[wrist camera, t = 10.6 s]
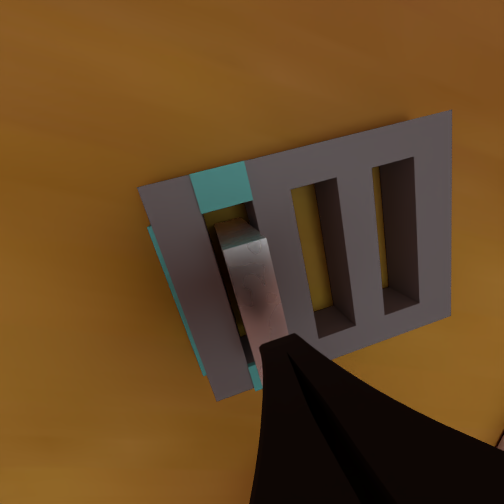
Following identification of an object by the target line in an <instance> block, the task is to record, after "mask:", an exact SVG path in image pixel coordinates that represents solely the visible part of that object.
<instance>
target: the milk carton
mask: <svg viewBox="0 0 504 504" xmlns="http://www.w3.org/2000/svg"><path fill="white" fill-rule="evenodd" d="M497 448H498V449H501V450H503V451H504V435H503V437H502V439H501V441H500V443H499V445H498V447H497Z"/></svg>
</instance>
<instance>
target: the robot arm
mask: <svg viewBox="0 0 504 504" xmlns="http://www.w3.org/2000/svg"><path fill="white" fill-rule="evenodd" d="M259 350H260V354H261V359H262V370H263V401H262V415H261V429H260V438H259V447H258V454H257V461H256V468H255V475H254V481H253V486H252V492H251V497H250V503H249V504H504V451H503V450H501V449H498V448H496V447H494V446H491V445H489V444H487V443H485V442H482V441H480V440H478V439H476V438H473V437H471V436H469V435H466V434H464V433H462V432H460V431H457V430H455V429H453V428H451V427H448V426H446V425H444V424H442V423H439V422H437V421H435V420H433V419H431V418H429V417H427V416H425V415H423V414H421V413H419V412H417V411H415V410H413V409H411V408H409V407H407V406H406V405H404V404H402V403H400V402H398V401H396V400H394V399H392V398H391V397H389V396H387V395H385V394H384V393H382V392H380V391H378V390H377V389H375V388H373V387H372V386H370V385H368V384H367V383H365V382H363V381H362V380H360V379H358V378H357V377H355V376H354V375H352V374H351V373H349V372H348V371H346V370H345V369H343V368H342V367H340V366H339V365H337V364H336V363H334V362H333V361H331V360H330V359H329V358H327V357H326V356H324V355H323V354H322V353H320V352H319V351H318V350H316V349H315V348H314V347H312V346H311V345H310V344H309V343H307V342H306V341H305V340H304V339H302V338H301V337H300V336H299V335H297V334H296V333H293V334H290V335H287V336H284V337H281V338H278V339H275V340H272V341H269V342H266V343H264V344H261V346H260V347H259Z"/></svg>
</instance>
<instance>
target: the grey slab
mask: <svg viewBox="0 0 504 504" xmlns="http://www.w3.org/2000/svg"><path fill="white" fill-rule="evenodd" d="M214 226H215V229H216V233H217V236H218V239H219V243H220V246H221V250H222V253H223V256H224V260H225V263H226V267H227V270H228V274H229V277H230V280H231V284H232V287H233V291H234V294H235V297H236V301H237V304H238V308H239V311H240V314H241V318H242V321H243V325H244V328H245V331H246V335H247V338H248V341H249V344H250V348H251V351H252V354H253V358H254V361H255V364H256V367H257V371H258V374H259V377H260V381H261V384H262V387H263V370H262V359H261V354H260V350H259V347H260V346H261V344H264V343H266V342H269V341H272V340H275V339H278V338H281V337H284V336H287V335H289V333H288V329H287V325H286V320H285V316H284V312H283V307H282V303H281V299H280V295H279V290H278V286H277V282H276V277H275V273H274V269H273V264H272V260H271V256H270V251H269V247H268V243H267V238H266V237H265V236H263V235H262V234H261V233H260V232H258V231H257V230H256V229H255V228H253V227H252V226H251V225H250V224H248V223H247V222H246V221H245V220H243V219H242V218H241V217H239V218H235V219H231V220H228V221H224V222H220V223H217V224H214Z"/></svg>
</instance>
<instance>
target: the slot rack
mask: <svg viewBox="0 0 504 504" xmlns="http://www.w3.org/2000/svg"><path fill="white" fill-rule="evenodd" d="M376 166H379V167H380V180H381V192H382V205H383V217H384V230H385V243H386V255H387V268H388V280H389V287H387V288H384V289H382V280H381V269H380V258H379V246H378V235H377V224H376V213H375V201H374V190H373V179H372V168H373V167H376ZM313 183H314V185H315V191H316V197H317V203H318V210H319V216H320V222H321V229H322V235H323V241H324V248H325V254H326V260H327V266H328V273H329V279H330V285H331V292H332V298H333V304H334V306H331V307H328V308H325V309H322V310H319V311H316V312H313V307H312V302H311V297H310V291H309V286H308V281H307V275H306V270H305V265H304V260H303V254H302V249H301V244H300V238H299V233H298V228H297V222H296V217H295V212H294V207H293V201H292V196H291V191H290V189H294V188H298V187H302V186H305V185H309V184H313ZM451 188H452V110H449V111H445V112H441V113H437V114H433V115H429V116H425V117H421V118H417V119H412V120H408V121H404V122H400V123H396V124H392V125H388V126H384V127H380V128H376V129H372V130H368V131H364V132H360V133H356V134H352V135H348V136H344V137H340V138H335V139H331V140H327V141H323V142H319V143H315V144H311V145H307V146H303V147H299V148H295V149H291V150H287V151H283V152H279V153H275V154H271V155H267V156H263V157H259V158H254V159H250V160H246V161H241V162H237V163H233V164H229V165H225V166H221V167H217V168H213V169H209V170H205V171H200V172H196V173H192V174H189V175H186V176H182V177H178V178H173V179H169V180H165V181H161V182H157V183H153V184H149V185H145V186H141V187H137V189H138V191H139V194H140V197H141V199H142V202H143V205H144V207H145V210H146V213H147V216H148V218H149V221H150V224H151V225H149V226H148V227H147V229H148V231H149V234H150V237H151V239H152V242H153V245H154V247H155V250H156V252H157V255H158V258H159V260H160V263H161V266H162V268H163V271H164V274H165V276H166V279H167V281H168V284H169V287H170V289H171V292H172V295H173V297H174V300H175V303H176V305H177V308H178V311H179V313H180V316H181V318H182V321H183V324H184V326H185V329H186V332H187V334H188V337H189V340H190V342H191V345H192V347H193V350H194V353H195V355H196V358H197V361H198V363H199V366H200V369H201V371H202V374H203V376H205V375H207V377H208V379H209V382H210V385H211V387H212V390H213V393H214V395H215V398H216V401H220V400H222V399H225V398H228V397H231V396H233V395H236V394H239V393H242V392H244V391H247V390H250V389H252V388H255V391H258V390H260V389H263V387H262V384H261V381H260V377H259V374H258V371H257V367H256V364H255V361H254V358H253V354H252V351H251V348H250V344H249V341H248V338H247V335H245V336H242V337H240V335H239V331H238V328H237V325H236V321H235V318H234V315H233V312H232V308H231V305H230V302H229V298H228V295H227V292H226V288H225V285H224V282H223V279H222V275H221V272H220V269H219V265H218V262H217V259H216V255H215V252H214V249H213V246H212V242H211V239H210V236H209V232H208V229H207V226H206V222H205V219H204V216H203V213H207V212H211V211H214V210H218V209H222V208H226V207H229V206H233V205H237V204H241V203H245V207H246V211H247V215H248V219H249V223H250V225H251V226H252V227H253V228H255V229H256V230H257V231H258V232H260V233H261V234H262V235H263V236H265V237H266V238H267V243H268V247H269V251H270V256H271V260H272V264H273V269H274V273H275V277H276V282H277V286H278V290H279V295H280V299H281V303H282V307H283V312H284V316H285V320H286V325H287V329H288V333H289V335H290V334H293V333H296V334H297V335H299V336H300V337H301V338H302V339H304V340H305V341H306V342H307V343H309V344H310V345H311V346H312V347H314V348H315V349H316V350H318V351H319V352H320V353H322V354H323V355H324V356H326V357H327V358H329V359H330V360H332V359H334V358H337V357H340V356H342V355H345V354H348V353H351V352H353V351H356V350H359V349H362V348H364V347H367V346H370V345H372V344H375V343H378V342H381V341H383V340H386V339H389V338H392V337H394V336H397V335H400V334H402V333H405V332H408V331H411V330H413V329H416V328H419V327H421V326H424V325H427V324H430V323H432V322H435V321H438V320H441V319H443V318H446V317H449V316H451Z"/></svg>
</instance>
